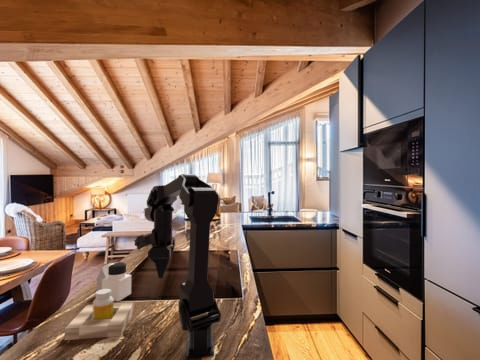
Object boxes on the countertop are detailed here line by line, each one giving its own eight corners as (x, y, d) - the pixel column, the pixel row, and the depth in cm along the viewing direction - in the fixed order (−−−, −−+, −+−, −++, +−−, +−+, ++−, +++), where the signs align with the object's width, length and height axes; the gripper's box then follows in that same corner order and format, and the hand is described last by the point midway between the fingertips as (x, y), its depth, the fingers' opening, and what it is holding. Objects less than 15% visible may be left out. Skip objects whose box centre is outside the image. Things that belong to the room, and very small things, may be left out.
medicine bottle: (131, 293, 99) (131, 261, 100) (118, 301, 92) (119, 267, 93) (115, 292, 101) (115, 260, 101) (101, 299, 94) (101, 265, 94)
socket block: (121, 335, 71) (121, 324, 71) (64, 340, 69) (64, 328, 69) (134, 311, 85) (134, 302, 85) (87, 314, 83) (87, 304, 83)
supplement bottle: (89, 324, 77) (90, 291, 77) (108, 318, 81) (109, 286, 81) (96, 331, 73) (96, 296, 74) (116, 324, 77) (116, 291, 78)
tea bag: (115, 288, 105) (116, 262, 105) (106, 295, 98) (106, 267, 98) (106, 287, 105) (106, 262, 105) (96, 294, 98) (96, 267, 99)
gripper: (143, 221, 94) (142, 265, 94) (129, 230, 76) (128, 285, 75) (175, 220, 96) (175, 264, 96) (169, 229, 77) (169, 283, 77)
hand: (162, 273), depth 86 cm, fingers open, 9 cm apart
